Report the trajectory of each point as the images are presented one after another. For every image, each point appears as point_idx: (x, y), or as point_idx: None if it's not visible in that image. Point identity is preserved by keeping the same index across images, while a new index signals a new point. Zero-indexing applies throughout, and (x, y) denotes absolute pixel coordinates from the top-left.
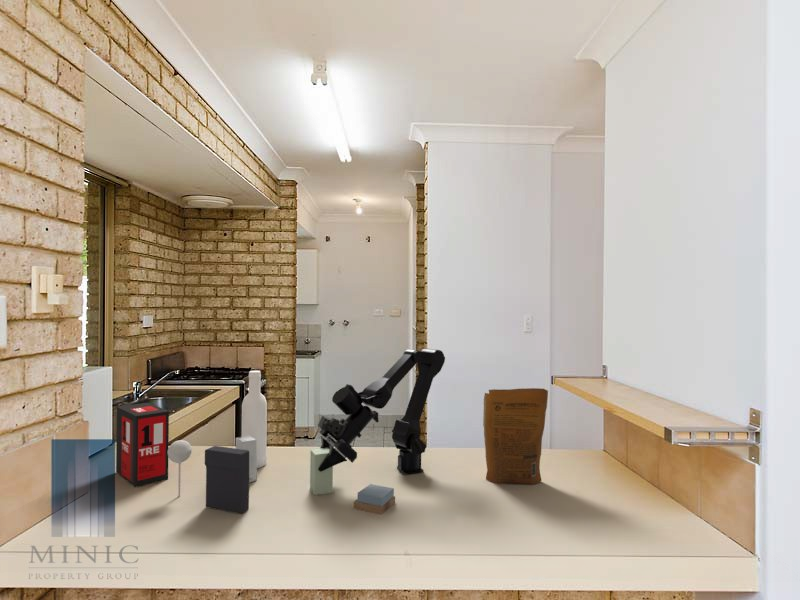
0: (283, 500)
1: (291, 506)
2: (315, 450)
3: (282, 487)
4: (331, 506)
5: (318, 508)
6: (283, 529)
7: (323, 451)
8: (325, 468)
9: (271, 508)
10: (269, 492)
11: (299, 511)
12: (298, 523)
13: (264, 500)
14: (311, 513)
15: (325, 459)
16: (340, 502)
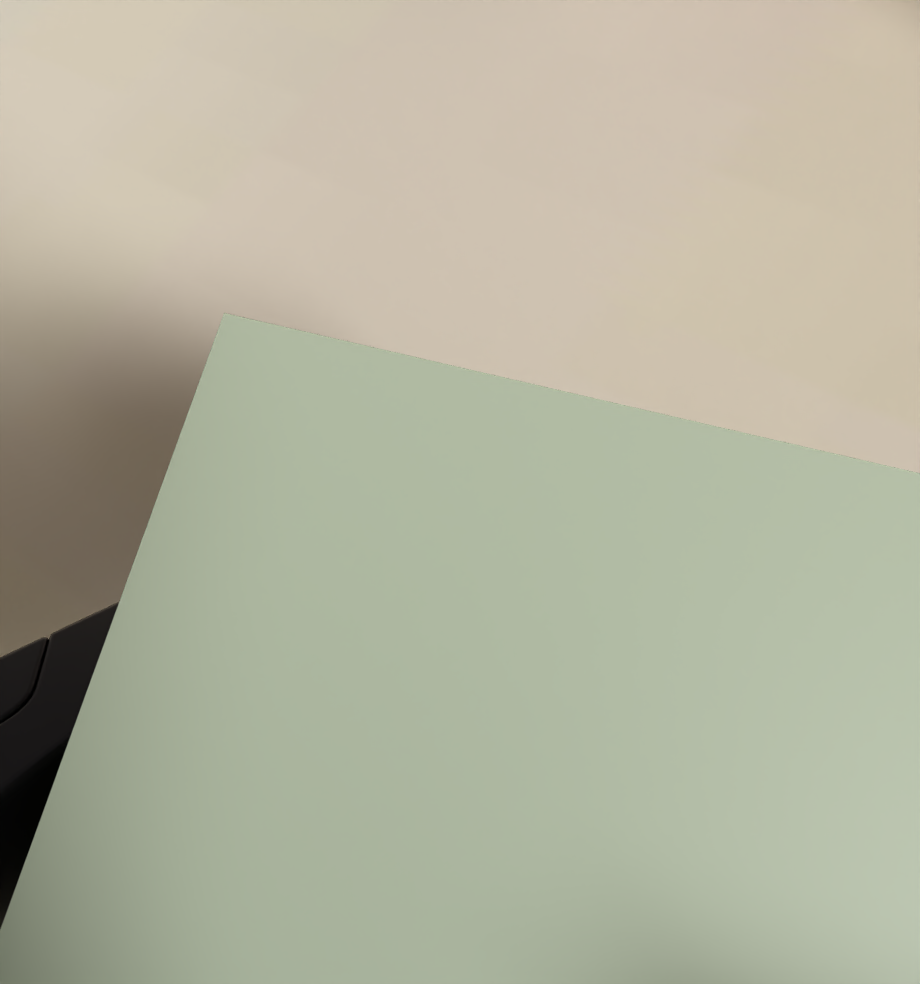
0: (519, 213)
1: (337, 217)
2: (747, 612)
3: (885, 347)
4: (66, 525)
5: (120, 397)
6: (6, 8)
7: (366, 832)
8: None
9: (418, 63)
10: (816, 179)
11: (190, 229)
12: (4, 130)
13: (636, 73)
14: (79, 295)
15: (75, 639)
16: None
